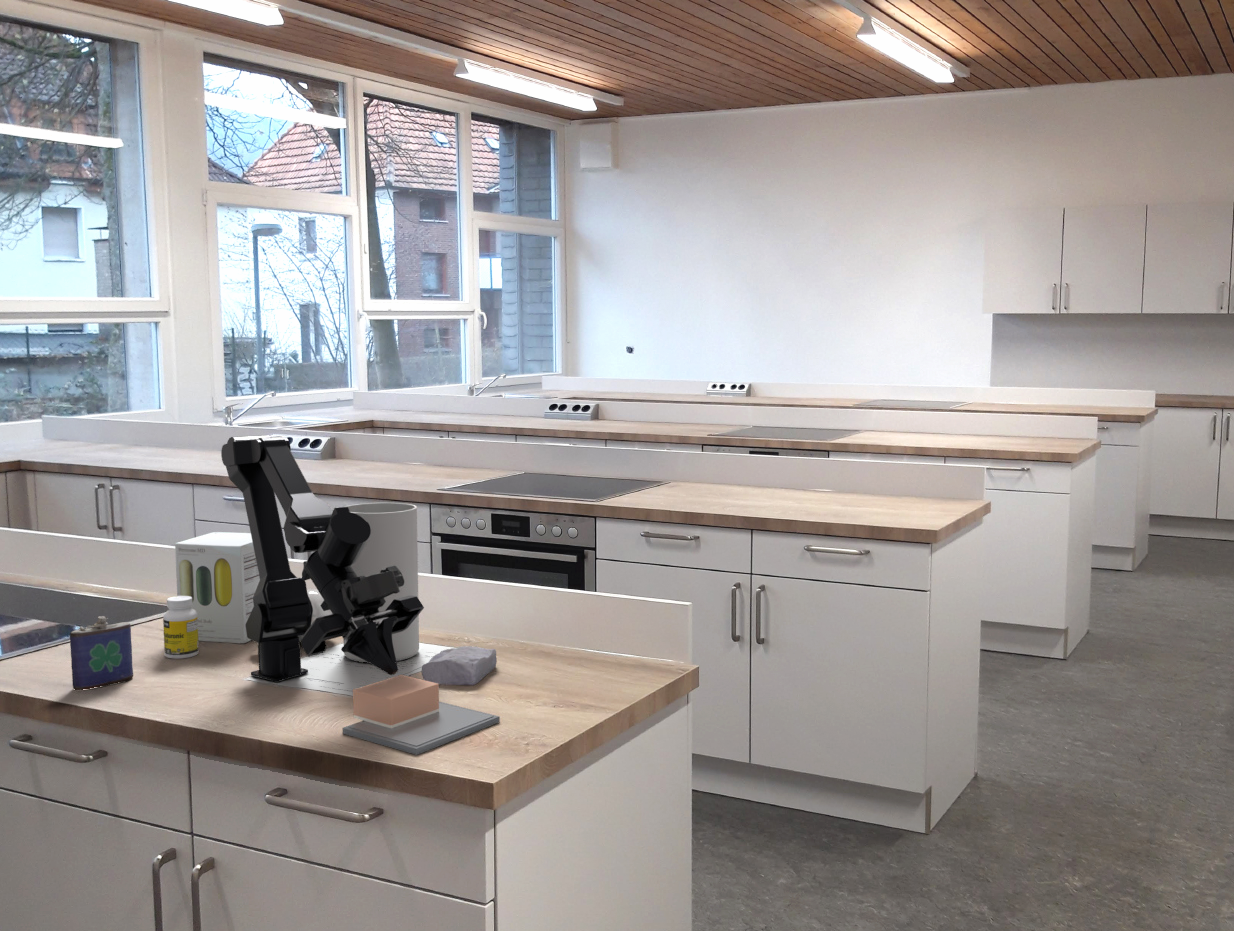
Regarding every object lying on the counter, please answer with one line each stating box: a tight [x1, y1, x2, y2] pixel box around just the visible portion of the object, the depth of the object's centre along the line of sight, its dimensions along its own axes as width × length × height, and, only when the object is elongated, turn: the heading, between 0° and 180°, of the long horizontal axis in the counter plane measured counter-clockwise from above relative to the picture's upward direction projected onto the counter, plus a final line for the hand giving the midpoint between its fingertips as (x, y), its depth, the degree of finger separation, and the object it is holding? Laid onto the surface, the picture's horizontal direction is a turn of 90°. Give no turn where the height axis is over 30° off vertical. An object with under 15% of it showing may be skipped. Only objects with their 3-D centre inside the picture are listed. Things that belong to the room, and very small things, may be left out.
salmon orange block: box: [352, 674, 440, 728], centre depth 162 cm, size 4×9×8 cm
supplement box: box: [174, 531, 260, 644], centre depth 211 cm, size 13×13×18 cm
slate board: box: [342, 701, 501, 756], centre depth 160 cm, size 14×16×1 cm
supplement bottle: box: [162, 595, 200, 660], centre depth 196 cm, size 5×5×10 cm
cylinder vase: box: [342, 502, 420, 664], centre depth 196 cm, size 12×12×25 cm
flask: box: [69, 615, 134, 691], centre depth 180 cm, size 9×3×11 cm, turn 138°
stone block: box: [421, 645, 498, 686], centre depth 186 cm, size 12×5×10 cm
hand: (394, 672), depth 162 cm, fingers closed
